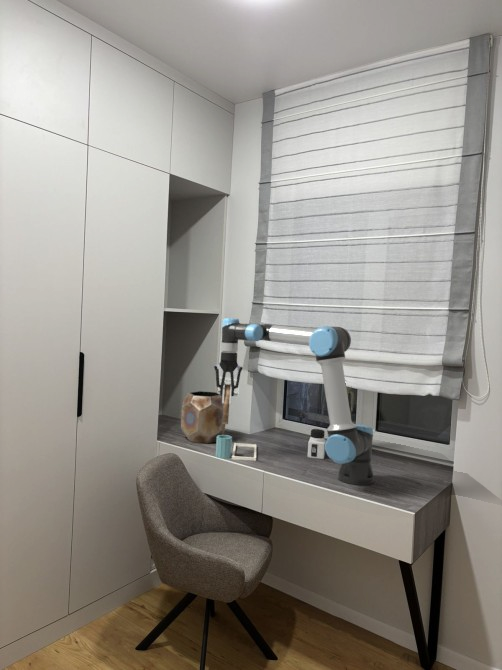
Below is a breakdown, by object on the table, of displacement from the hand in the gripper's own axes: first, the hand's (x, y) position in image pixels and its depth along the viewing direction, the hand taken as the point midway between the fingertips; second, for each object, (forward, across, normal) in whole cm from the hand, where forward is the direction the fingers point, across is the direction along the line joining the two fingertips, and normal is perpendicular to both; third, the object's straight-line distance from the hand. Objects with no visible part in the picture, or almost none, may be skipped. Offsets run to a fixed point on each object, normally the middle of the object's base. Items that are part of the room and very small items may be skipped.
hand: (226, 402), depth 238 cm
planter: (+26, +13, -31) cm, 42 cm away
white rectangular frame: (+25, -9, -6) cm, 28 cm away
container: (+26, -44, -11) cm, 52 cm away
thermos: (+26, -58, -28) cm, 69 cm away
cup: (+25, 0, +2) cm, 25 cm away
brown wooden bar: (+10, 0, +1) cm, 10 cm away
